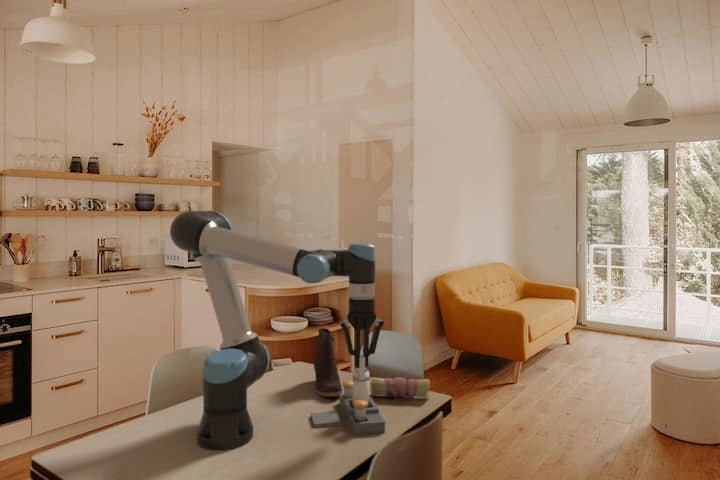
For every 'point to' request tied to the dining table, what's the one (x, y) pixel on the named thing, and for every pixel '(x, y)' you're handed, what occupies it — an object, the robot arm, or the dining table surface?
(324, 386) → the boot
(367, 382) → the cylinder
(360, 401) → the plunger near
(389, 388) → the green and pink roll
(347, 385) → the plunger far
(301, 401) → the dining table surface
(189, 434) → the dining table surface
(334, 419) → the mat
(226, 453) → the dining table surface
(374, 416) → the housing
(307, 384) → the dining table surface
